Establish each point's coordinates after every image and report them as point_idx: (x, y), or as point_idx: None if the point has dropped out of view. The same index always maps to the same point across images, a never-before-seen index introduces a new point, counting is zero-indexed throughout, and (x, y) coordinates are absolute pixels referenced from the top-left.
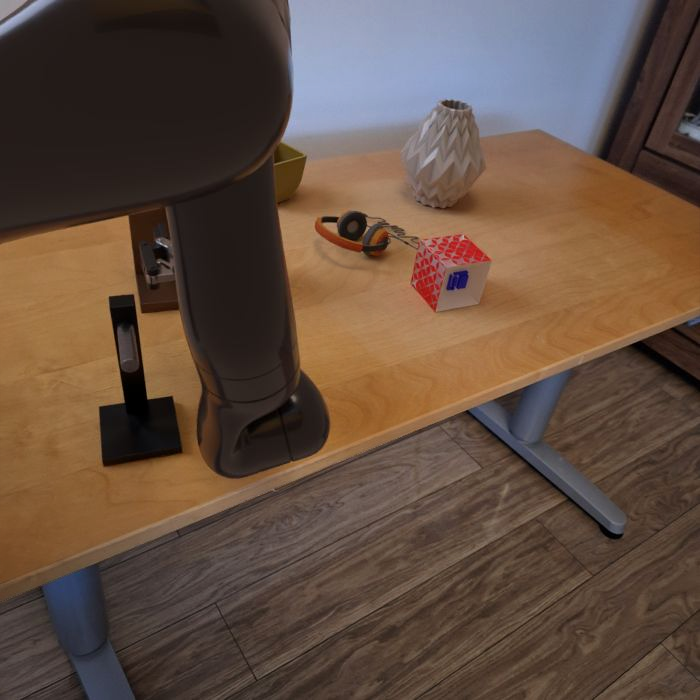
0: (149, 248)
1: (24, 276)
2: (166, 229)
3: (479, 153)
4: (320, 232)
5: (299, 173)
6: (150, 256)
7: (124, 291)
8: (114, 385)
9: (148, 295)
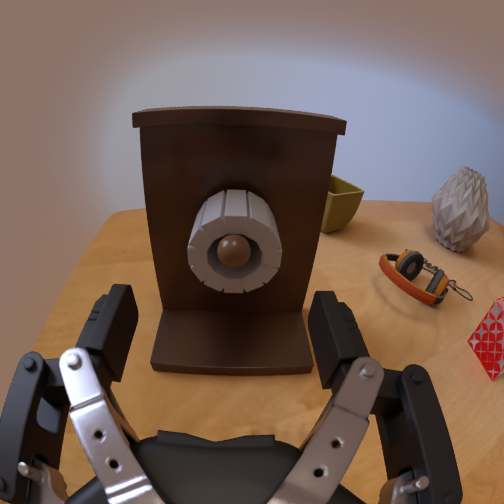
0: (28, 391)
1: (76, 287)
2: None
3: (488, 212)
4: (390, 275)
5: (355, 206)
6: (13, 432)
7: (147, 328)
8: None
9: (164, 348)
